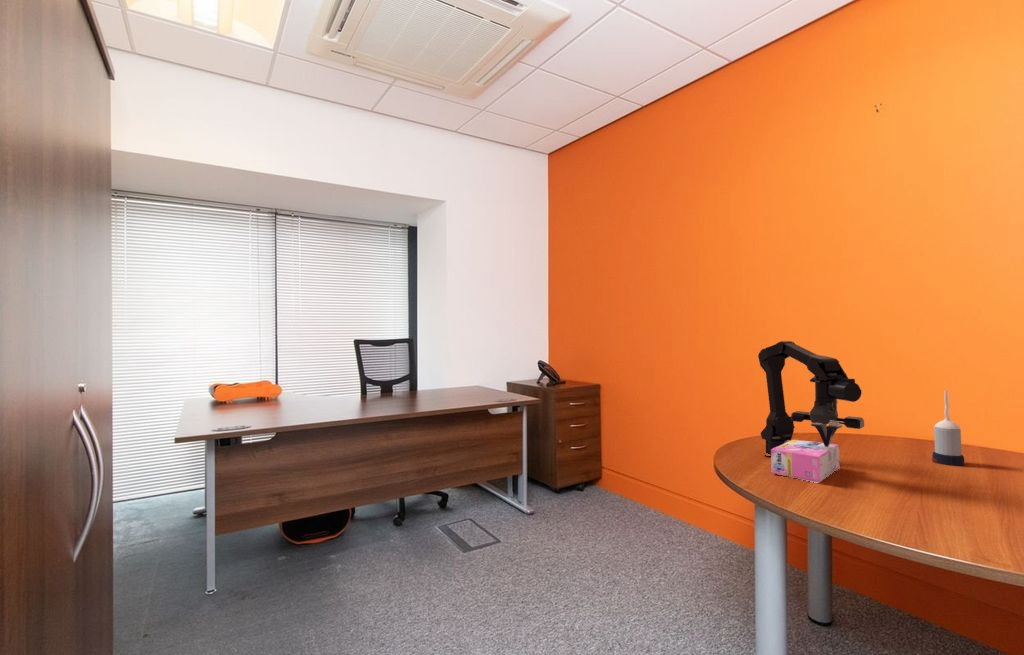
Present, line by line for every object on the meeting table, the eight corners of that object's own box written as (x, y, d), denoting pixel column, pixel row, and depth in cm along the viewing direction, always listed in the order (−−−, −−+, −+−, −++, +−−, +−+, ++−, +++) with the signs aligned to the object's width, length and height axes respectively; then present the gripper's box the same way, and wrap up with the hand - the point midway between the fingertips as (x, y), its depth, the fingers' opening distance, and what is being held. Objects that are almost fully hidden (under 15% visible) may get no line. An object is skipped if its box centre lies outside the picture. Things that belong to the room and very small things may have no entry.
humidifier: (927, 461, 164) (925, 389, 164) (939, 458, 167) (937, 388, 168) (957, 467, 157) (955, 392, 157) (969, 464, 160) (967, 391, 161)
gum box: (841, 467, 156) (795, 459, 166) (840, 443, 156) (794, 437, 166) (820, 482, 139) (770, 473, 149) (819, 456, 140) (770, 448, 150)
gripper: (784, 397, 151) (785, 445, 150) (854, 403, 137) (855, 456, 136) (796, 394, 158) (797, 440, 158) (864, 399, 144) (865, 450, 144)
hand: (826, 446), depth 149 cm, fingers closed
